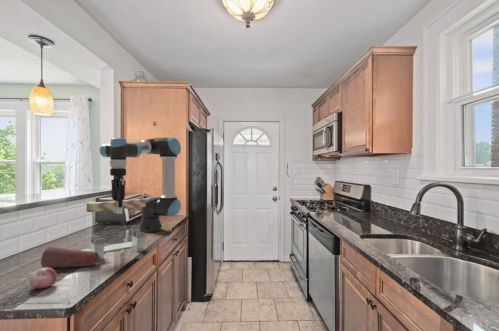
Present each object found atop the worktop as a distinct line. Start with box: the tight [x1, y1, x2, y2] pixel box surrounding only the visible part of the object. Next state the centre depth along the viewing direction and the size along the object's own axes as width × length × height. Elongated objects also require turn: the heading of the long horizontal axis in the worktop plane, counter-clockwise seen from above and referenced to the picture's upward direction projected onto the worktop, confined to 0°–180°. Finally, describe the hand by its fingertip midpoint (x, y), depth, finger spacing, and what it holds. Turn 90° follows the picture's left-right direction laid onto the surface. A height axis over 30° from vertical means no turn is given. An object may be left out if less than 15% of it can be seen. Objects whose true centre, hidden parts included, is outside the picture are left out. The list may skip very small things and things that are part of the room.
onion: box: [29, 267, 58, 291], centre depth 101 cm, size 8×8×7 cm
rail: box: [86, 198, 146, 213], centre depth 145 cm, size 28×4×4 cm, turn 135°
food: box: [40, 246, 101, 269], centre depth 123 cm, size 21×9×9 cm, turn 103°
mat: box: [81, 241, 132, 253], centre depth 150 cm, size 32×10×1 cm, turn 133°
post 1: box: [89, 235, 105, 260], centre depth 135 cm, size 4×7×10 cm, turn 44°
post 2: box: [131, 229, 146, 253], centre depth 149 cm, size 4×7×10 cm, turn 44°
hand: (117, 213), depth 145 cm, fingers closed on rail, 4 cm apart
